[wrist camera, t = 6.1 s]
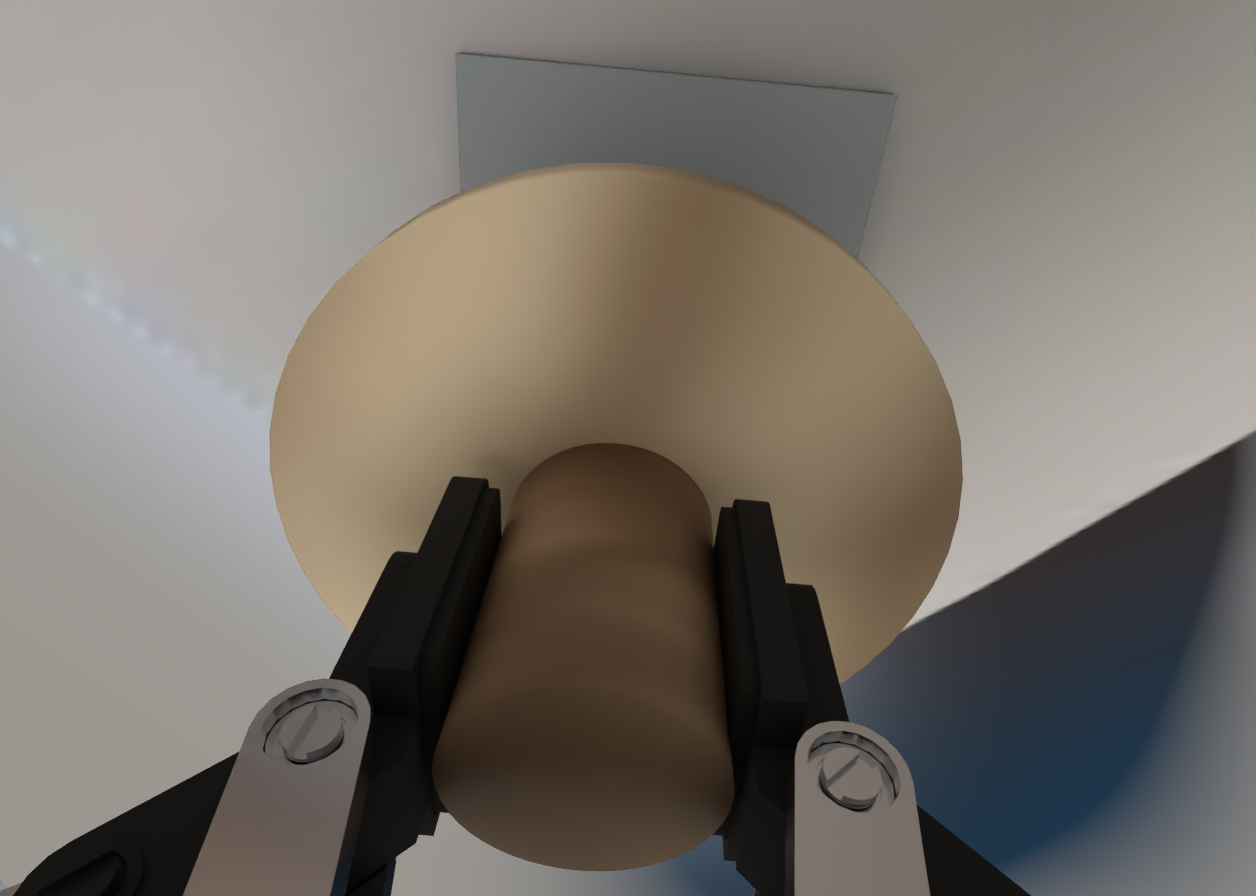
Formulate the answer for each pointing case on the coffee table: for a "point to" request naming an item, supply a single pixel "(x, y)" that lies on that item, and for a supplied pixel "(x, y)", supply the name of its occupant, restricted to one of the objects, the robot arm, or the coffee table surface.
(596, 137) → the mat
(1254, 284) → the coffee table surface
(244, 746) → the robot arm
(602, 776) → the lid
